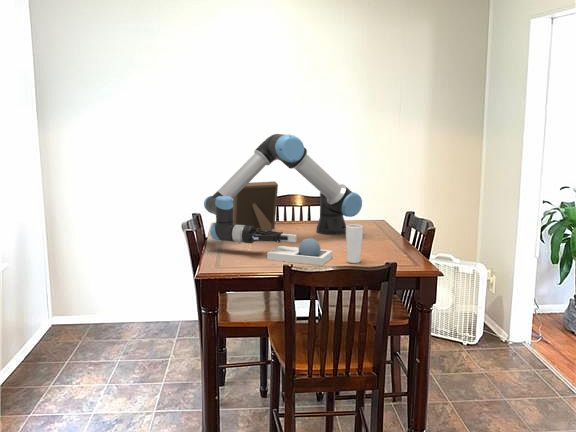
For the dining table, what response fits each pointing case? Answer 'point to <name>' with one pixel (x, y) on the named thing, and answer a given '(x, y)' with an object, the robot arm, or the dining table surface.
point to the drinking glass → (354, 242)
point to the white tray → (298, 256)
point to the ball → (309, 248)
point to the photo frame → (256, 205)
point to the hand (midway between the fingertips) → (295, 238)
